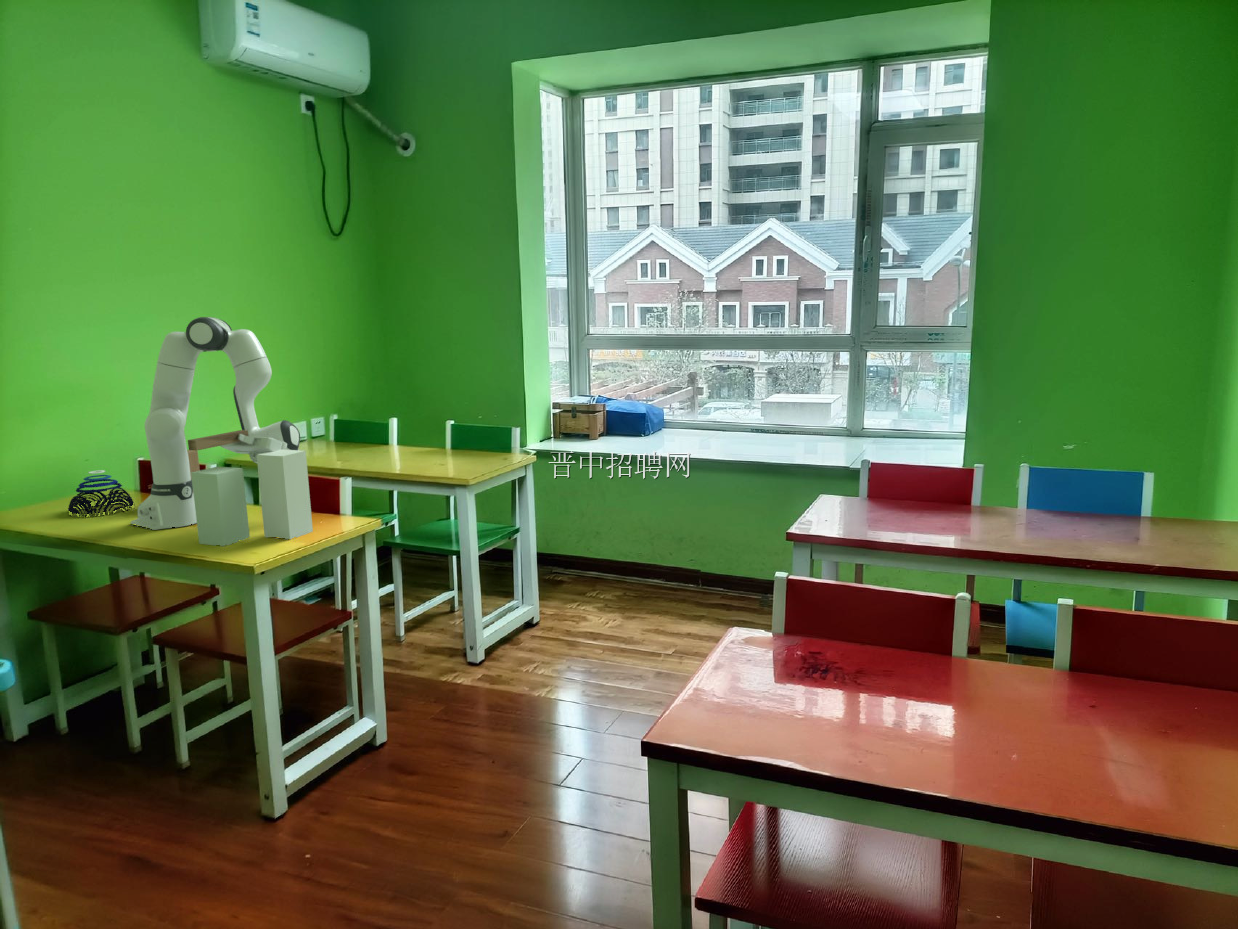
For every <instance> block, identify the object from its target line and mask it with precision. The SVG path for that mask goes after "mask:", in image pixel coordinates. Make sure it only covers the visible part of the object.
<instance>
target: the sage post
mask: <svg viewBox="0 0 1238 929" xmlns="http://www.w3.org/2000/svg"><path fill="white" fill-rule="evenodd" d="M191 476H192V485H193V494H194V502H195V511H196V520H197V523H196V526H197V527H196V529H197V535H198V536H197V537H198V544H200V545H208V546H209V545H210V546H216V545H220V546H219V547H226V546H225V545H227V546H229V545H233V544H236V543H239V542H240V541H239V540H242V541H245V540H247V539H246V538H248V537H250V538H251V536H250V527H249V526H250V525H249V519H248V518H249V515H248V508H247V506H248V505H247V498H246V497H247V496H246V489H245V487H246V486H245V479H244V478H245V477H244V468H243V467H233V466H232V467H231V466H228V467H227V466H214V467H210V468H204V469H200V471H196V472H191ZM244 539H245V540H244ZM248 539H249V538H248ZM238 541H239V542H238ZM232 543H233V544H232Z"/></svg>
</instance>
